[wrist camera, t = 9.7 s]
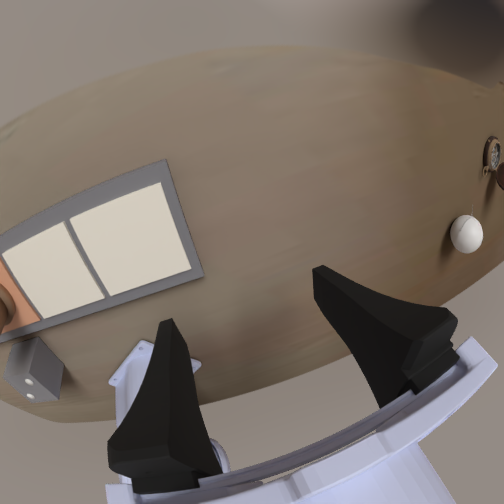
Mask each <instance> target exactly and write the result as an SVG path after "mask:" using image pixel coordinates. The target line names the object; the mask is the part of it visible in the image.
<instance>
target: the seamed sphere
mask: <svg viewBox="0 0 504 504" xmlns="http://www.w3.org/2000/svg"><path fill="white" fill-rule="evenodd" d="M472 211H473V205H472ZM450 236H451V241H452V243H453V245H454V247H455V248H456V249H457V250H458V251H461V252H463V253H471V252H474V251H475V250H477V249H478V248H479V246H480V245H481V243H482V238H483V231H482V227H481V225H480V223H479V222H478V221H477V220H476V219H475V218H474V217H472V216H469V215H463V216H460V217H458V218H457V219H456V220H455V221H454V223H453V224H452V227H451V231H450Z"/></svg>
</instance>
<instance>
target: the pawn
mask: <svg viewBox="0 0 504 504" xmlns="http://www.w3.org/2000/svg"><path fill="white" fill-rule="evenodd" d="M15 311H16V306H15V302H14V299H13V297H12V296H11V294H10V293H9V291H8V290H7V289H6V288H5V287H4V286H3V285H2V284H0V335H1V333H2V330H3V328H4V326H5V325H8V324H10V323H11V321H12V319H13V317H14V314H15Z"/></svg>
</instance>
